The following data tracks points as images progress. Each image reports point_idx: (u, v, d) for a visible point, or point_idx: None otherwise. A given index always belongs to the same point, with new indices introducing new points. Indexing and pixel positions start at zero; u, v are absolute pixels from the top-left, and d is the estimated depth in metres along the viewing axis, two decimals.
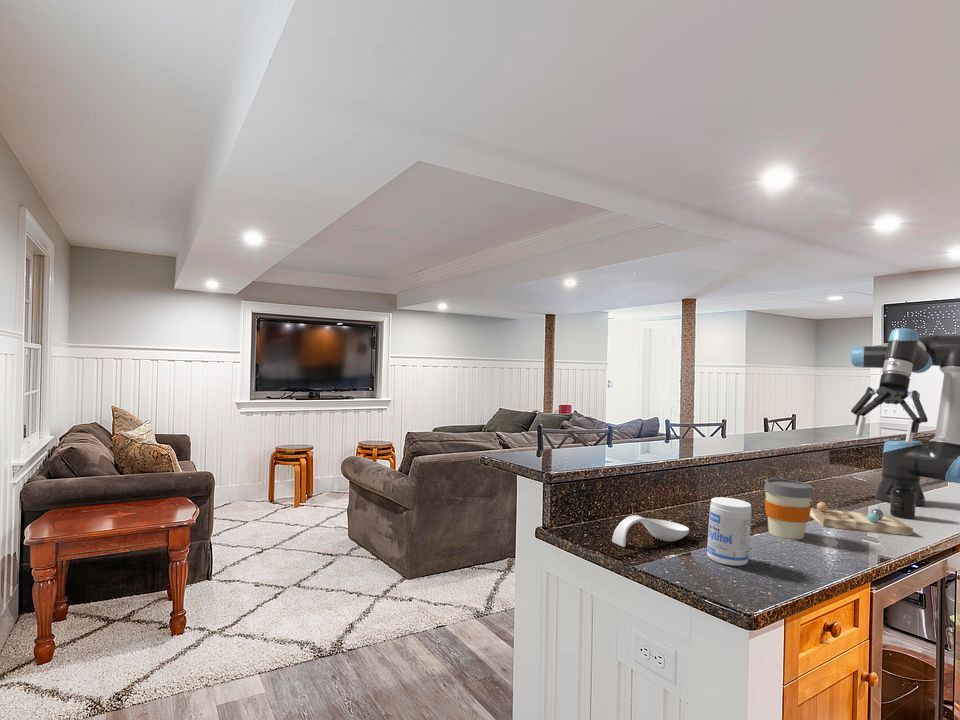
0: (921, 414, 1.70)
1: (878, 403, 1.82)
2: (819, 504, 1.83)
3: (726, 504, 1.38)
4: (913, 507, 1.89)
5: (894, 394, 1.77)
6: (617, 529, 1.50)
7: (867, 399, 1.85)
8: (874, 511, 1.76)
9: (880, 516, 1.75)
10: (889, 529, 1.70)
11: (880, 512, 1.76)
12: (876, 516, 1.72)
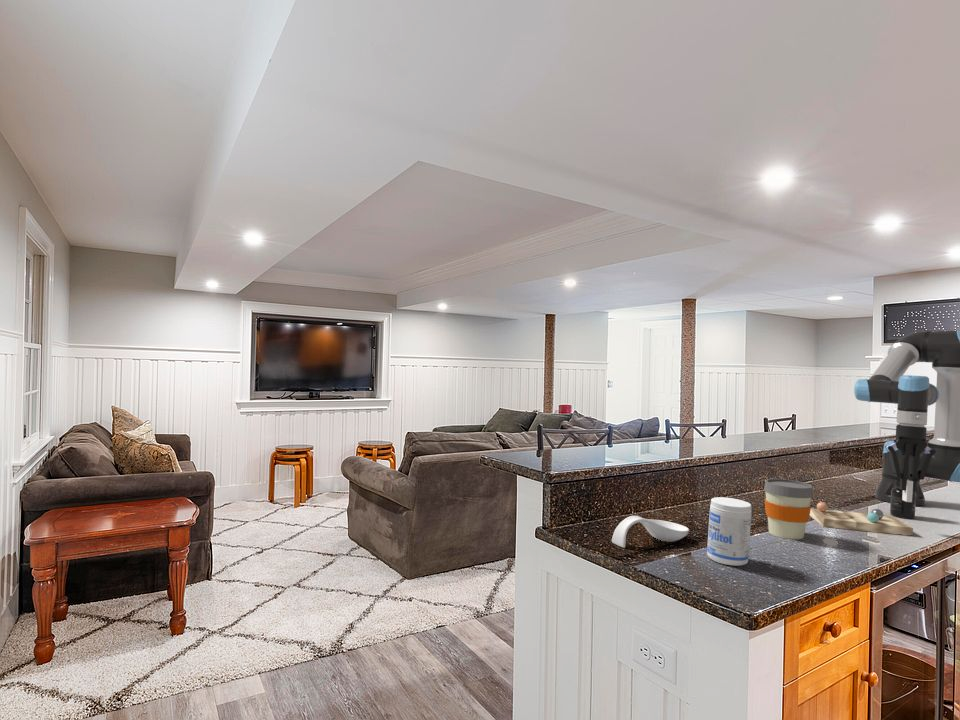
0: (923, 474, 1.73)
1: None
2: (819, 504, 1.83)
3: (726, 504, 1.38)
4: (913, 507, 1.89)
5: (917, 448, 1.73)
6: (616, 530, 1.50)
7: None
8: (874, 511, 1.76)
9: (880, 516, 1.75)
10: (889, 529, 1.70)
11: (880, 512, 1.76)
12: (876, 516, 1.72)
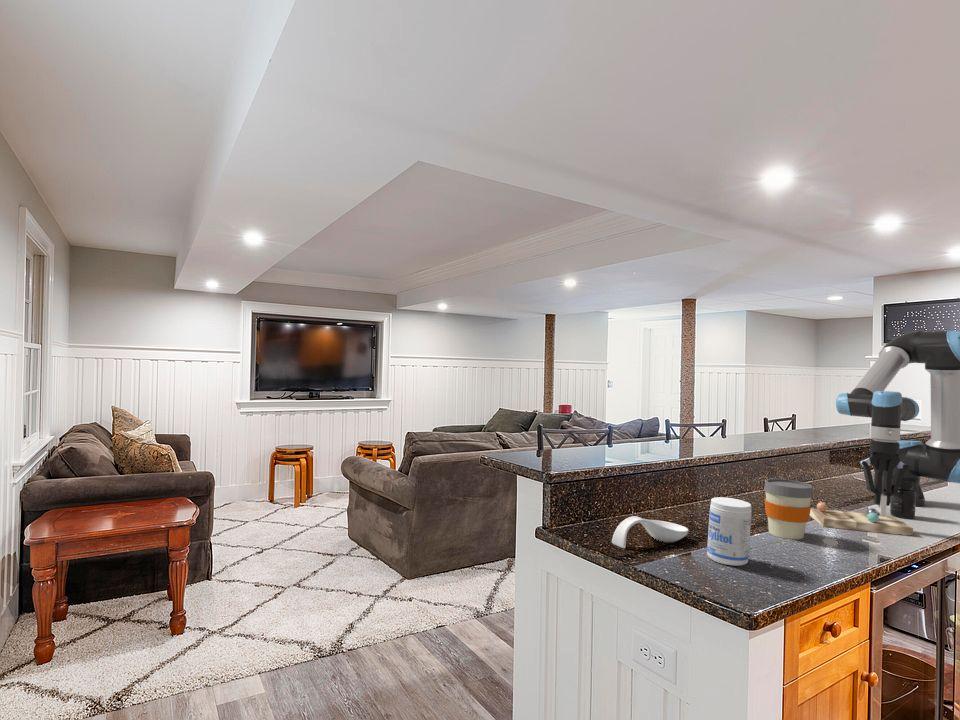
0: (897, 489, 1.74)
1: None
2: (819, 504, 1.83)
3: (726, 504, 1.38)
4: (913, 507, 1.89)
5: (890, 463, 1.74)
6: (617, 531, 1.49)
7: None
8: (868, 513, 1.77)
9: None
10: (889, 529, 1.70)
11: (873, 511, 1.76)
12: (876, 516, 1.72)
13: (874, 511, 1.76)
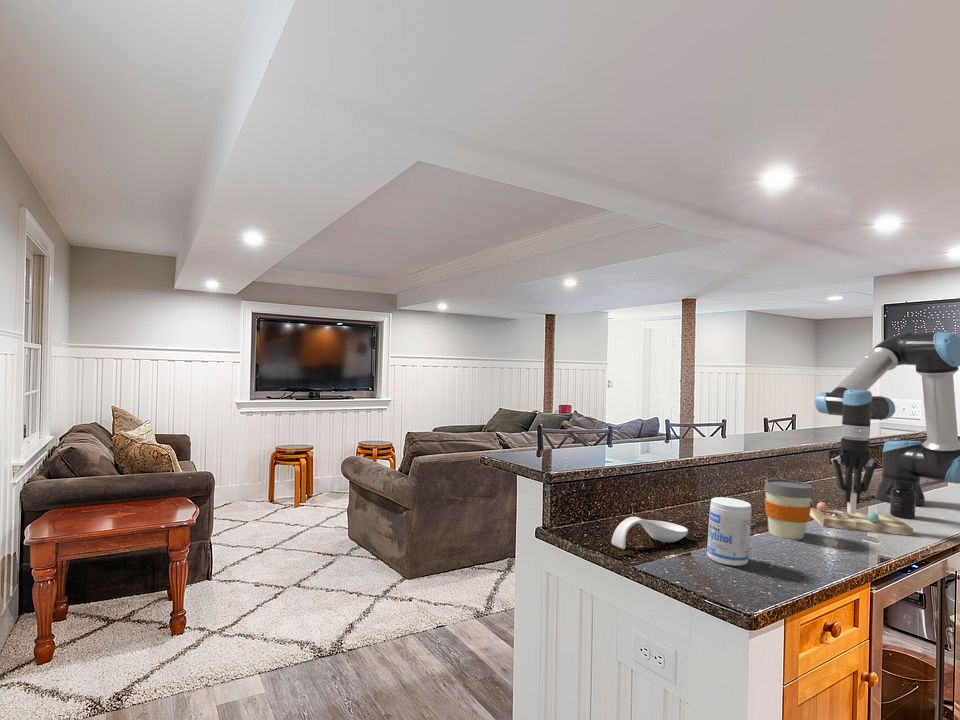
0: (866, 486, 1.76)
1: None
2: (819, 504, 1.83)
3: (726, 504, 1.38)
4: (913, 507, 1.89)
5: (860, 461, 1.76)
6: (616, 531, 1.49)
7: None
8: None
9: None
10: (889, 529, 1.70)
11: None
12: (876, 516, 1.72)
13: (836, 515, 1.79)
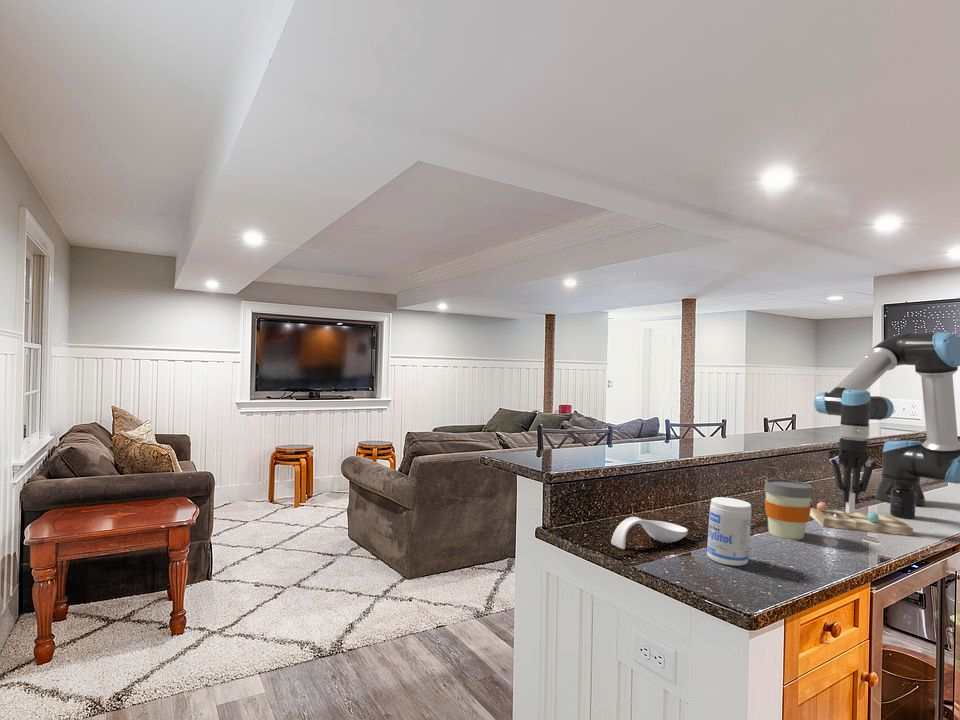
0: (865, 486, 1.77)
1: None
2: (819, 504, 1.83)
3: (726, 504, 1.38)
4: (913, 507, 1.89)
5: (858, 461, 1.76)
6: (616, 531, 1.48)
7: None
8: None
9: None
10: (889, 529, 1.70)
11: (837, 516, 1.78)
12: (876, 516, 1.72)
13: (838, 515, 1.78)
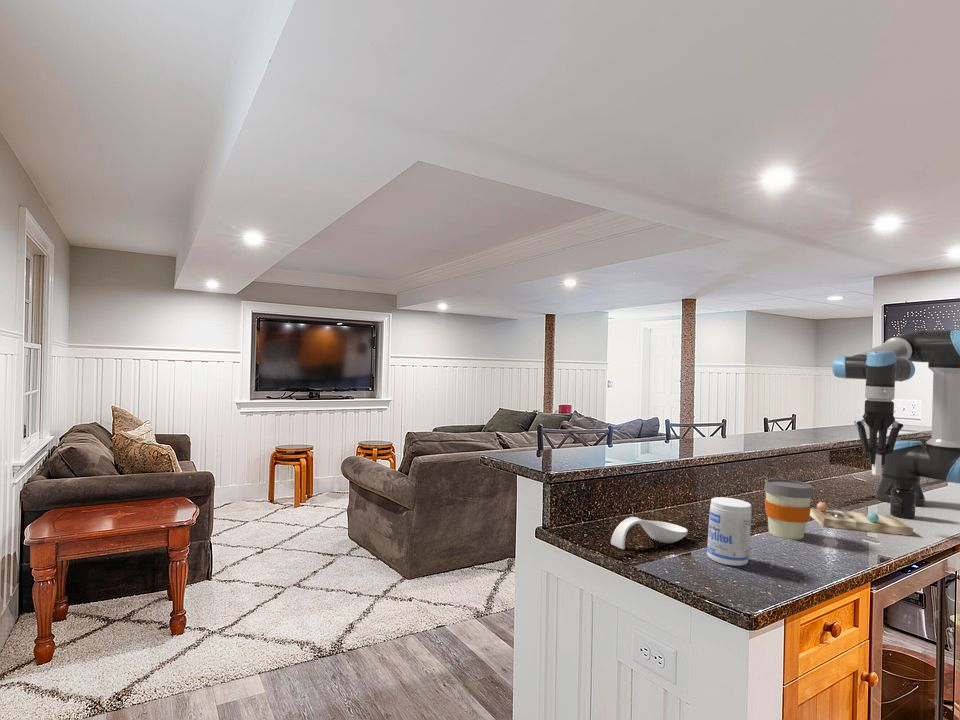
0: (891, 448, 1.75)
1: None
2: (819, 504, 1.83)
3: (726, 504, 1.38)
4: (913, 507, 1.89)
5: (885, 422, 1.75)
6: (616, 531, 1.48)
7: None
8: None
9: None
10: (889, 529, 1.70)
11: (840, 516, 1.78)
12: (876, 516, 1.72)
13: (841, 516, 1.78)
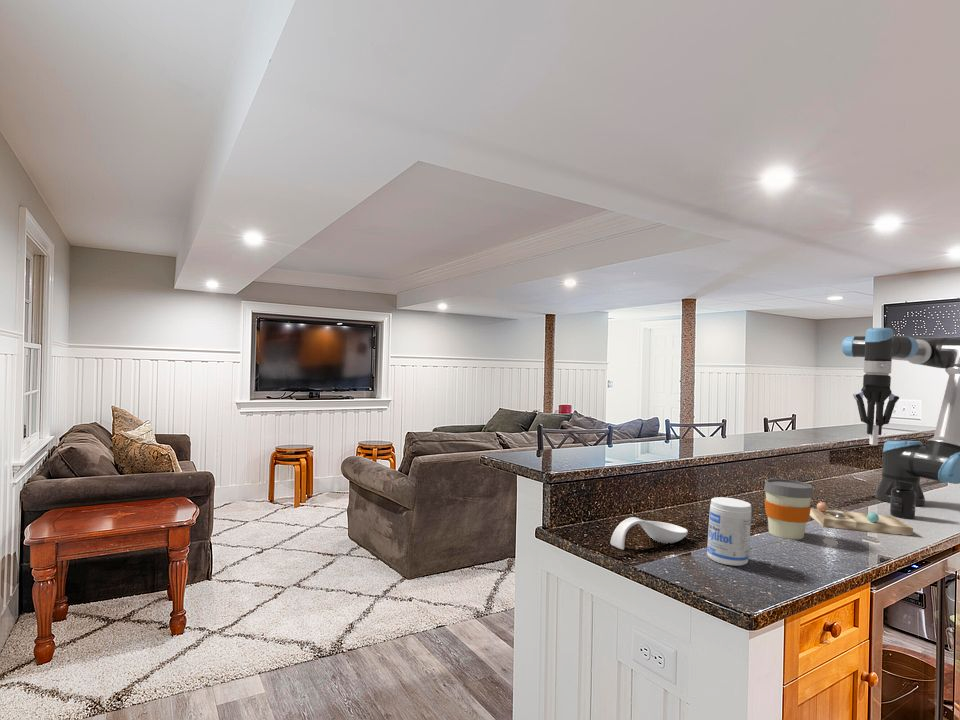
0: (888, 419, 1.86)
1: None
2: (819, 504, 1.83)
3: (726, 504, 1.38)
4: (913, 507, 1.89)
5: (882, 395, 1.86)
6: (615, 532, 1.48)
7: None
8: (836, 516, 1.79)
9: None
10: (889, 529, 1.70)
11: (842, 516, 1.78)
12: (876, 516, 1.72)
13: (843, 516, 1.78)
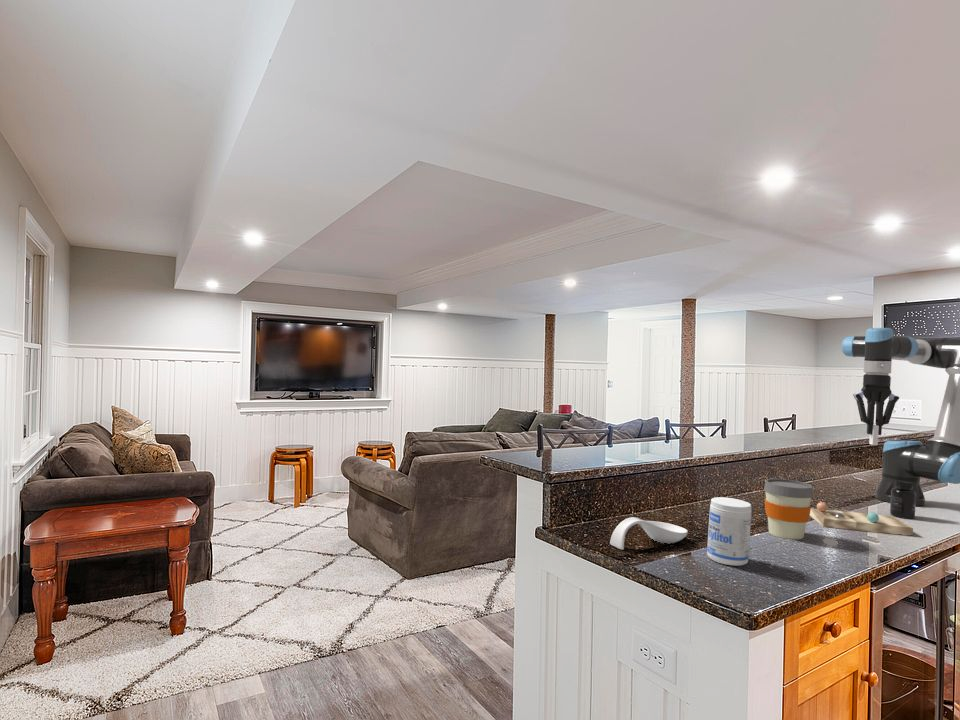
0: (888, 419, 1.86)
1: None
2: (819, 504, 1.83)
3: (726, 504, 1.38)
4: (913, 507, 1.89)
5: (882, 395, 1.86)
6: (615, 532, 1.48)
7: None
8: (836, 516, 1.79)
9: None
10: (889, 529, 1.70)
11: (841, 516, 1.78)
12: (876, 516, 1.72)
13: (842, 516, 1.78)
